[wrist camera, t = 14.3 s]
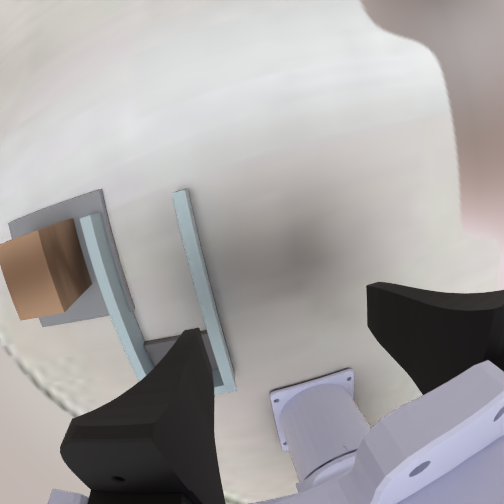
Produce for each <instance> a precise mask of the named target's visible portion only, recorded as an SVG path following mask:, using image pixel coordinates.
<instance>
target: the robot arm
mask: <svg viewBox="0 0 504 504" xmlns="http://www.w3.org/2000/svg"><path fill="white" fill-rule="evenodd" d="M366 287H367V323H368V327H369V329H370V331H371V332H372V334H373V335H374V337H375V338H376V339H377V341H378V342H379V343H380V344H381V345H382V347H383V348H384V349H385V350H386V351H387V352H388V353H389V354H390V355H391V356H392V357H393V358H394V359H395V360H396V361H397V362H398V364H399V365H400V366H401V367H402V368H403V369H404V370H405V371H406V372H407V373H408V375H409V376H410V377H411V378H412V380H413V381H414V382H415V384H416V385H417V387H418V388H419V390H420V391H421V393H422V394H423V396H421V397H419V398H417V399H415V400H413V401H411V402H409V403H407V404H405V405H403V406H401V407H399V408H397V409H396V410H394V411H393V412H391V413H390V414H388V415H386V416H385V417H383V418H381V419H380V420H379V421H378V422H377V423H376V424H375V425H374V426H373V427H372V428H371V427H370V426H369V424H368V423H367V421H366V419H365V418H364V416H363V415H362V413H361V412H360V410H359V409H358V407H357V405H356V404H355V402H354V401H353V393H354V372H353V370H352V369H346V370H343V371H340V372H337V373H334V374H331V375H328V376H325V377H322V378H319V379H315V380H312V381H309V382H305V383H302V384H298V385H295V386H291V387H287V388H283V389H280V390H276V391H273V392H271V393H270V400H271V404H272V409H273V413H274V417H275V422H276V426H277V430H278V435H279V439H280V443H281V447H282V450H284V451H287V450H289V451H290V454H291V457H292V460H293V463H294V467H295V470H296V473H297V476H298V479H299V482H298V483H296V487H297V490H298V493H296V494H293V495H289V496H284V497H280V498H276V499H271V500H266V501H261V502H256V503H250V504H504V290H501V291H494V292H486V293H469V294H460V293H444V292H436V291H429V290H423V289H417V288H412V287H407V286H402V285H397V284H392V283H385V282H377V283H373V284H370V285H367V286H366ZM348 377H349V378H348ZM347 378H348V379H347ZM275 399H277V400H275ZM60 453H61V456H62V458H63V460H64V462H65V463H66V464H67V466H68V467H69V468H70V469H71V470H72V471H73V473H75V475H76V476H77V477H78V478H79V479H80V480H81V481H83V483H85V485H87V486H88V487H89V488H90V489H91V492H90V496H89V498H88V497H87V496H84V495H82V494H79V493H74V492H68V491H62V490H57V489H53V490H52V492H51V495H50V498H49V501H48V504H226V503H225V499H224V494H223V489H222V484H221V478H220V473H219V467H218V460H217V453H216V446H215V438H214V380H213V373H212V367H211V364H210V361H209V358H208V354H207V351H206V348H205V345H204V342H203V339H202V336H201V332H200V329H199V328H195V329H190V330H185V331H184V332H183V333H182V334H181V335H180V337H179V338H178V339H177V341H176V342H175V343H174V345H173V346H172V347H171V349H170V350H169V351H168V352H167V354H166V355H165V356H164V357H163V358H162V359H161V361H160V362H159V363H158V364H157V365H156V366H155V367H154V368H153V369H152V370H151V371H150V372H149V373H148V374H147V375H146V376H145V377H144V378H143V379H142V380H141V381H139V382H138V383H137V384H136V385H135V386H133V387H132V388H130V389H129V390H128V391H126V392H125V393H123V394H122V395H121V396H119V397H117V398H116V399H114V400H112V401H111V402H109V403H107V404H105V405H103V406H101V407H99V408H97V409H95V410H93V411H91V412H88V413H86V414H83V415H81V416H78V417H76V418H73V419H72V421H71V423H70V425H69V427H68V430H67V433H66V434H65V437H64V439H63V442H62V444H61V446H60Z"/></svg>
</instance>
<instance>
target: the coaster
mask: <svg viewBox="0 0 504 504" xmlns="http://www.w3.org/2000/svg"><path fill="white" fill-rule="evenodd" d="M98 212H100V213H101V217H102V221H103V225H104V229H105V233H106V237H107V240H108V244H109V248H110V251H111V255H112V258H113V262H114V265H115V268H116V271H117V275H118V278H119V281H120V284H121V287H122V290H123V293H124V296H125V299H126V302H127V305H128V307H129V310H130V312H131V311H133V310H134V308H135V307H134V304H133V301H132V298H131V295H130V292H129V289H128V286H127V283H126V280H125V277H124V274H123V270H122V267H121V264H120V260H119V257H118V254H117V250H116V246H115V243H114V239H113V235H112V231H111V228H110V224H109V220H108V215H107V211H106V207H105V203H104V198H103V194H102V189H101V190H97V191H93V192H90V193H87V194H84V195H81V196H78V197H75V198H72V199H69V200H67V201H64V202H61V203H58V204H55V205H53V206H50V207H47V208H45V209H42V210H39V211H37V212H34V213H32V214H29V215H27V216H24V217H22V218H19V219H17V220H14V221H12V222H10V223H8V225H9V229H10V233H11V237H12V239H14V238H17V237H20V236H22V235H25V234H27V233H30V232H33V231H35V230H38V229H41V228H44V227H47V226H50V225H53V224H56V223H59V222H62V221H65V220H68V219H71V218H73V219H74V223H75V227H76V231H77V235H78V238H79V242H80V246H81V249H82V253H83V256H84V260H85V263H86V266H87V269H88V272H89V276H90V279H91V282H92V285H91V286H90V287H89V288H88V289H87V290H86V291H85V292H84V293H83V294H82V295H81V296H80V297H79V298H78V299H77V300H76V301H75V302H74V303H73V304H72V305H71V306H70V307H69V308H68V310H67V311H66V312H65V313H60V314H54V315H49V316H43V317H39V320H40V322H41V324H42V327H46V326H52V325H58V324H64V323H70V322H76V321H82V320H87V319H93V318H98V317H104V316H109V315H110V314H109V312H108V309H107V306H106V304H105V301H104V298H103V295H102V292H101V290H100V287H99V284H98V281H97V278H96V275H95V271H94V268H93V265H92V262H91V258H90V255H89V252H88V248H87V245H86V241H85V237H84V234H83V230H82V226H81V222H80V218H83V217H86V216H89V215H92V214H95V213H98Z"/></svg>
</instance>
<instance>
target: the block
mask: <svg viewBox="0 0 504 504" xmlns="http://www.w3.org/2000/svg"><path fill="white" fill-rule="evenodd" d="M0 265H1V269H2V272H3V275H4V278H5V281H6V284H7V287H8V289H9V292H10V295H11V298H12V300H13V303H14V306H15V308H16V311H17V313H18V315H19V318H20V320H26V319H32V318H38V317H43V316H49V315H54V314H60V313H65V312H66V311H67V310H68V308H69V307H70V306H71V305H72V304H73V303H74V302H75V301H76V300H77V299H78V298H79V297H80V296H81V295H82V294H83V293H84V292H85V291H86V290H87V289H88V288H89V287H90V286H91V285H92V282H91V279H90V276H89V272H88V269H87V266H86V263H85V260H84V256H83V253H82V249H81V246H80V242H79V238H78V235H77V231H76V227H75V223H74V219H73V218H71V219H68V220H65V221H62V222H59V223H56V224H53V225H50V226H47V227H44V228H41V229H38V230H35V231H33V232H30V233H27V234H25V235H22V236H20V237H17V238H14V239H12V240H9V241H7V242H5V243H2V244H0Z"/></svg>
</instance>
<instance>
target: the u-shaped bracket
mask: <svg viewBox="0 0 504 504" xmlns="http://www.w3.org/2000/svg"><path fill="white" fill-rule="evenodd" d="M172 197H173V201H174V206H175V210H176V215H177V219H178V223H179V228H180V232H181V236H182V240H183V244H184V248H185V252H186V256H187V260H188V264H189V268H190V272H191V276H192V279H193V283H194V287H195V290H196V294H197V298H198V301H199V305H200V308H201V312H202V315H203V319H204V322H205V326H206V329H207V330H205V331H200V332H201V336H202V339H203V342H204V345H205V348H206V351H207V354H208V358H209V361H210V364H211V367H212V373H213V380H214V395H217V394H223V393H228V392H233V391H237V388H236V382H235V376H234V370H233V367H232V364H231V360H230V357H229V353H228V350H227V346H226V342H225V339H224V335H223V332H222V328H221V324H220V321H219V317H218V313H217V309H216V306H215V302H214V298H213V294H212V290H211V286H210V282H209V278H208V274H207V270H206V266H205V262H204V258H203V254H202V249H201V245H200V241H199V237H198V232H197V228H196V224H195V219H194V215H193V210H192V206H191V201H190V196H189V192H188V189H185V190H180V191H176V192H174V193H172ZM80 222H81V226H82V230H83V234H84V237H85V241H86V245H87V248H88V252H89V255H90V258H91V262H92V265H93V268H94V271H95V275H96V278H97V281H98V284H99V287H100V290H101V292H102V295H103V298H104V301H105V304H106V306H107V309H108V312H109V314H110V317H111V319H112V322H113V325H114V327H115V330H116V332H117V334H118V337H119V339H120V342H121V344H122V346H123V349H124V351H125V353H126V355H127V358H128V360H129V362H130V364H131V366H132V368H133V371H134V373H135V375H136V377H137V379H138V381H141V380H142V379H143V378H144V377H145V376H146V375H147V374H148V373H149V372H150V371H151V370H152V369H153V368H154V367H155V366H156V365H157V364H158V363H159V362H160V361H161V359H162V358H163V357H164V356H165V355H166V354H167V352H168V351H169V350H170V349H171V347H172V346H173V345H174V343H175V342H176V341H177V339H178V338H179V337H180V336H174V337H169V338H163V339H158V340H152V341H146V342H144V339H143V337H142V334H141V332H140V329H139V326H138V324H137V321H136V318H135V316H134V313H133V311H131V312H130V310H129V307H128V305H127V302H126V299H125V296H124V293H123V290H122V287H121V284H120V281H119V278H118V275H117V271H116V268H115V265H114V262H113V258H112V255H111V251H110V248H109V244H108V240H107V237H106V233H105V229H104V225H103V221H102V217H101V213H100V212H98V213H95V214H92V215H89V216H86V217H83V218H80Z"/></svg>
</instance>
